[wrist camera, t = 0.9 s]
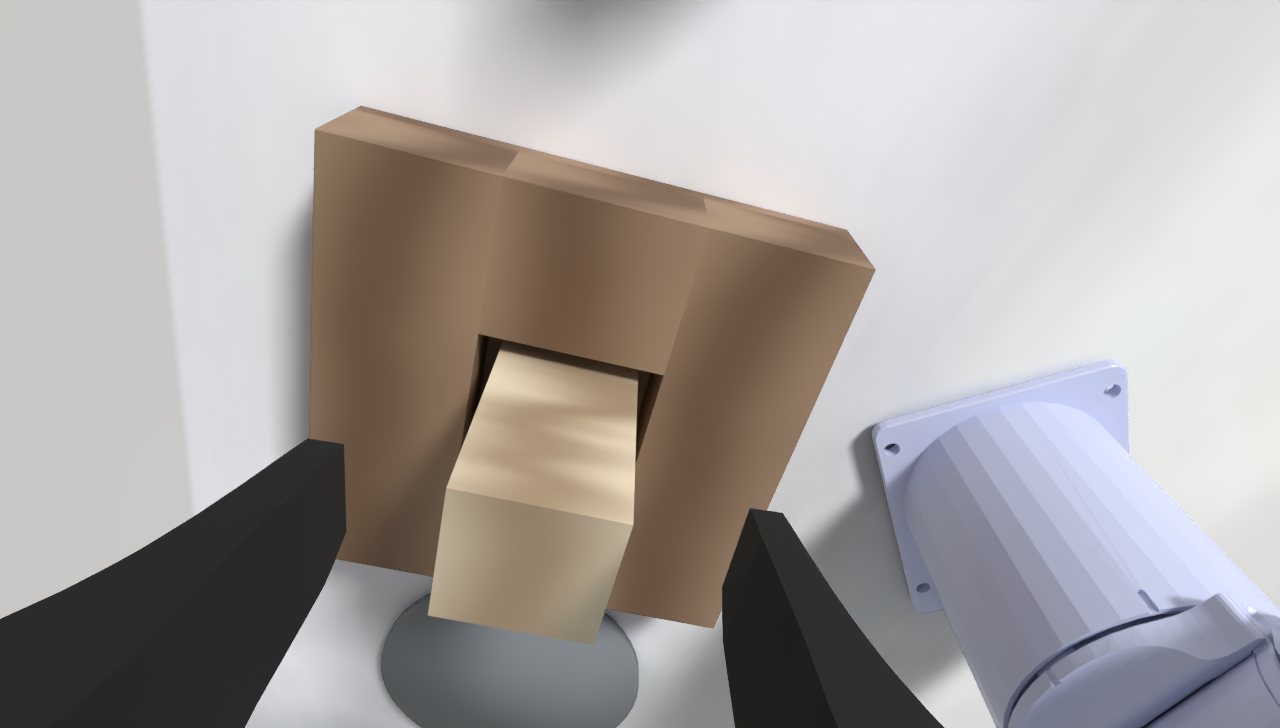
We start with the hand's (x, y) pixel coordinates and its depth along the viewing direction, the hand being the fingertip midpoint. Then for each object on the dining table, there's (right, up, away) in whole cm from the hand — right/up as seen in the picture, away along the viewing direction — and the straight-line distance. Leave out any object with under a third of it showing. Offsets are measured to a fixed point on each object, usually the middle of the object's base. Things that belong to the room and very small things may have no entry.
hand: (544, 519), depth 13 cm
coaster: (-4, -11, +18) cm, 21 cm away
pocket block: (-1, +2, +11) cm, 11 cm away
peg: (-1, +2, +10) cm, 10 cm away
